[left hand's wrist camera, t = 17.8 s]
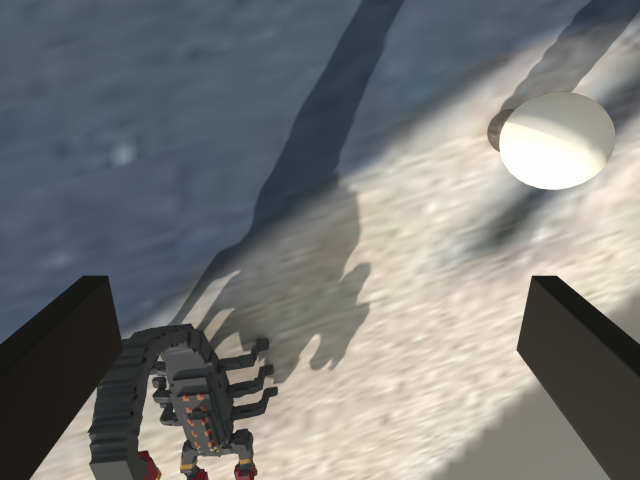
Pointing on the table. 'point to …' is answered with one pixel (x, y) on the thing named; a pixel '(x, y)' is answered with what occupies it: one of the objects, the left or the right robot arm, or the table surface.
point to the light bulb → (554, 139)
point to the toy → (174, 404)
